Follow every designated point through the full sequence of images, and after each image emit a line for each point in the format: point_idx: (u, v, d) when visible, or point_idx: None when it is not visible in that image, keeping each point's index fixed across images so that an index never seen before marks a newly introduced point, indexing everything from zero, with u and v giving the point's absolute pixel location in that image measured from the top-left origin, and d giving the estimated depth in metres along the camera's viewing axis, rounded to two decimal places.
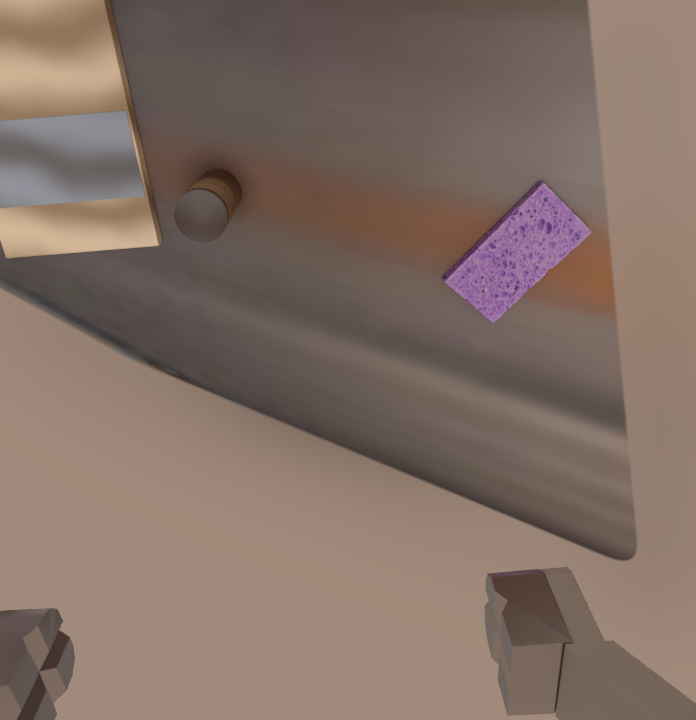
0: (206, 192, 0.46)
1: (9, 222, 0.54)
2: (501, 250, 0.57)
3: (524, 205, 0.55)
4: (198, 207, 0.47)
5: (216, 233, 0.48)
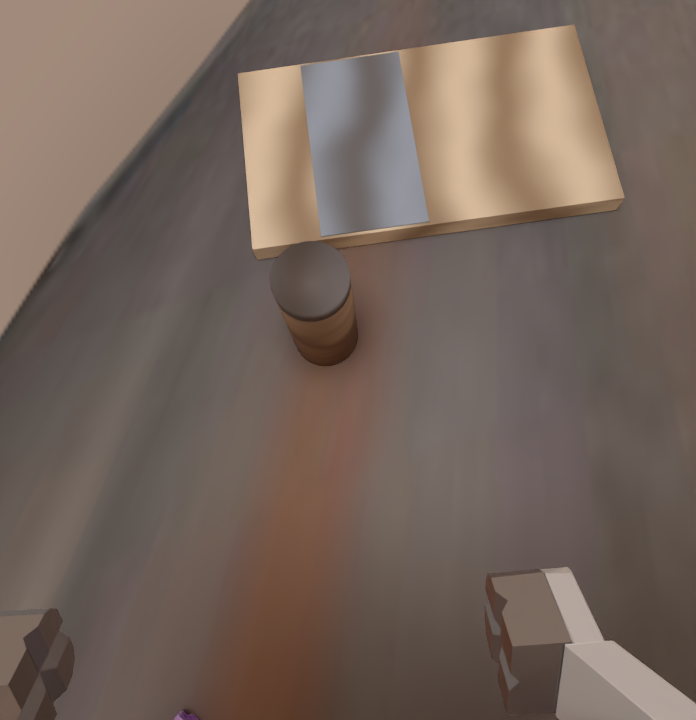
0: (346, 286, 0.30)
1: (284, 82, 0.43)
2: None
3: None
4: (323, 275, 0.30)
5: (283, 299, 0.30)
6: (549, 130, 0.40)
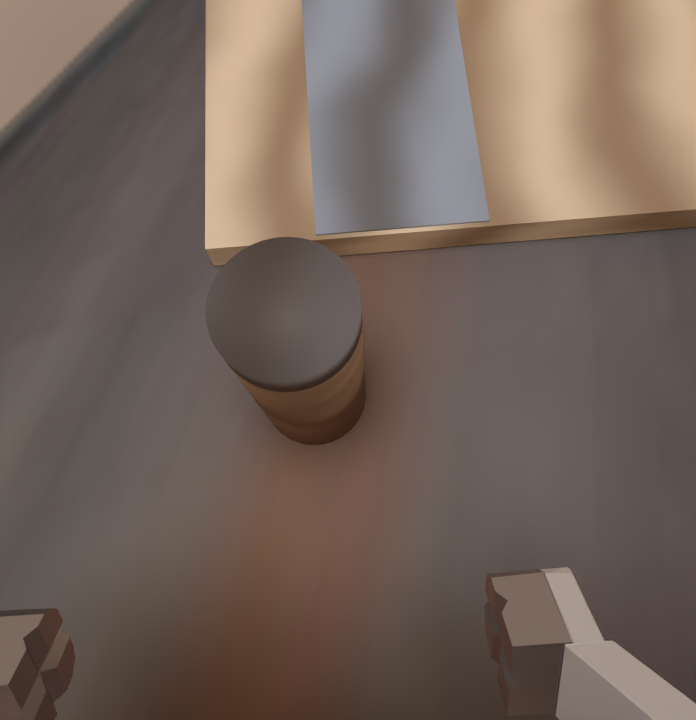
0: (355, 329, 0.15)
1: (274, 1, 0.28)
2: None
3: None
4: (310, 303, 0.16)
5: (229, 347, 0.15)
6: (680, 91, 0.26)
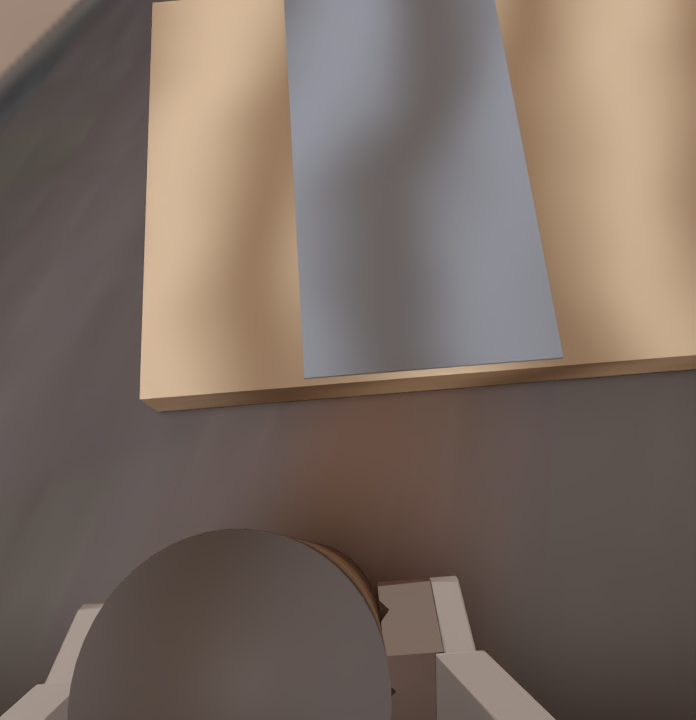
0: None
1: (247, 24, 0.20)
2: None
3: None
4: (285, 691, 0.07)
5: None
6: None
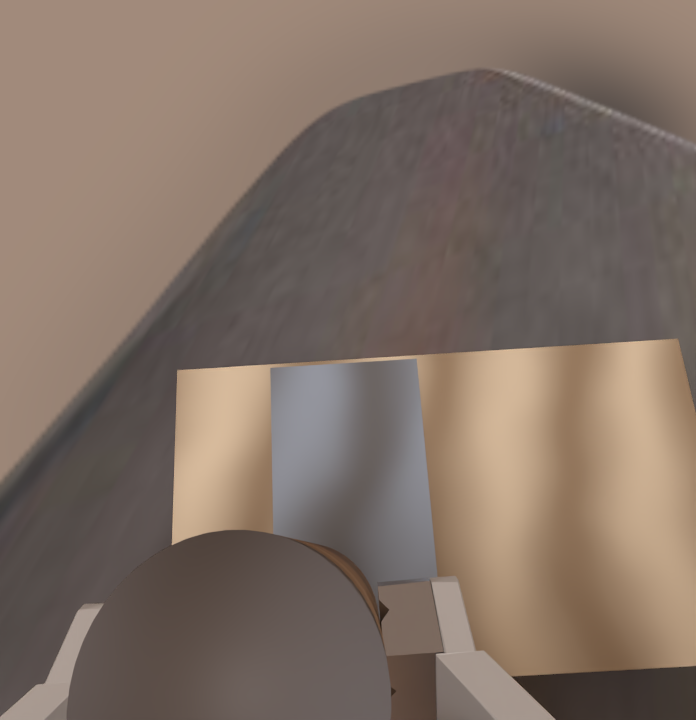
0: None
1: (244, 392, 0.29)
2: None
3: None
4: (284, 693, 0.07)
5: None
6: (638, 522, 0.26)
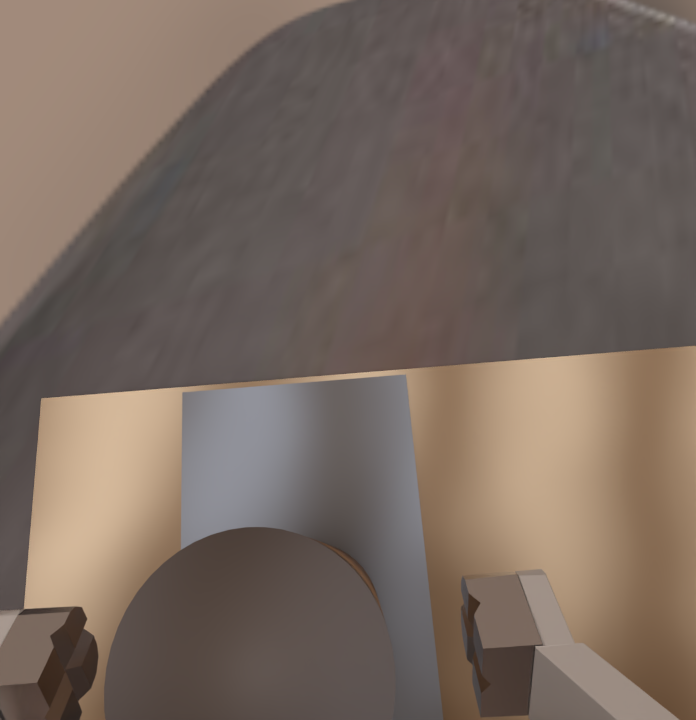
0: None
1: (141, 431, 0.19)
2: None
3: None
4: (299, 672, 0.08)
5: None
6: None
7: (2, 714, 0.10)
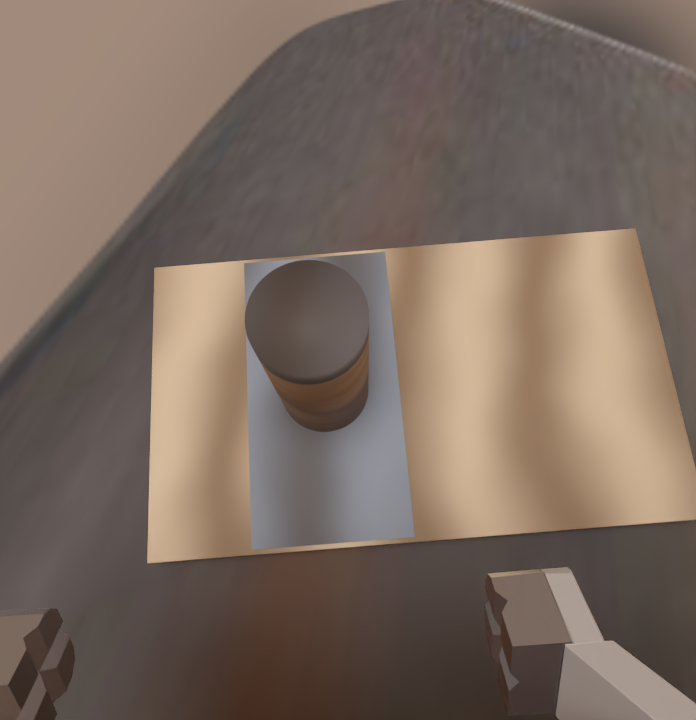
0: (364, 334, 0.19)
1: (219, 286, 0.30)
2: None
3: None
4: (328, 314, 0.19)
5: (264, 348, 0.19)
6: (597, 395, 0.28)
7: None
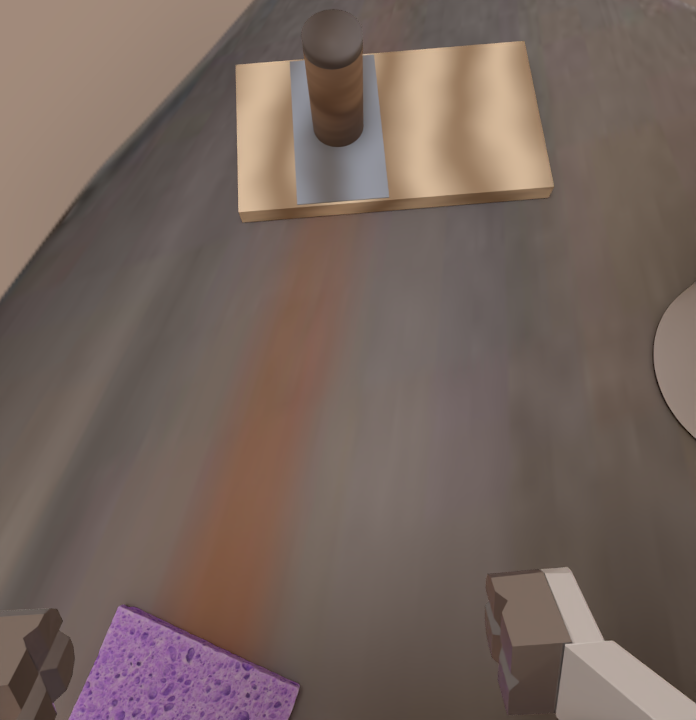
0: (360, 40, 0.39)
1: (274, 74, 0.50)
2: (186, 673, 0.37)
3: (260, 675, 0.37)
4: (342, 32, 0.40)
5: (311, 47, 0.39)
6: (496, 127, 0.48)
7: None
